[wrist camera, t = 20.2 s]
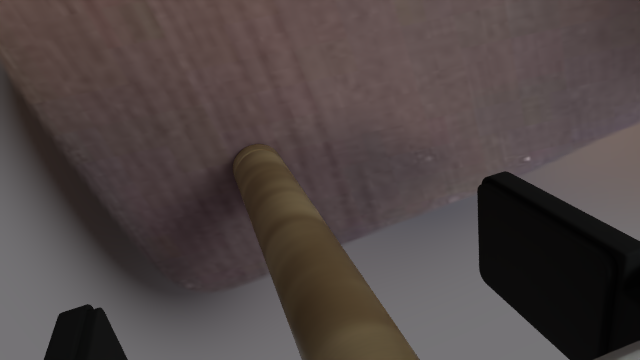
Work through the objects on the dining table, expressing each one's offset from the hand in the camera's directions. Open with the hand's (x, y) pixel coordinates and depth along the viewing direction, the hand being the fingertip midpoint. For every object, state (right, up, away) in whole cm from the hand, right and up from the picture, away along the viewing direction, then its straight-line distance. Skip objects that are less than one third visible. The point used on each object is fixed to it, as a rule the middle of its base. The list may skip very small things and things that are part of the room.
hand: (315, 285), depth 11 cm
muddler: (-2, +3, +8) cm, 9 cm away
